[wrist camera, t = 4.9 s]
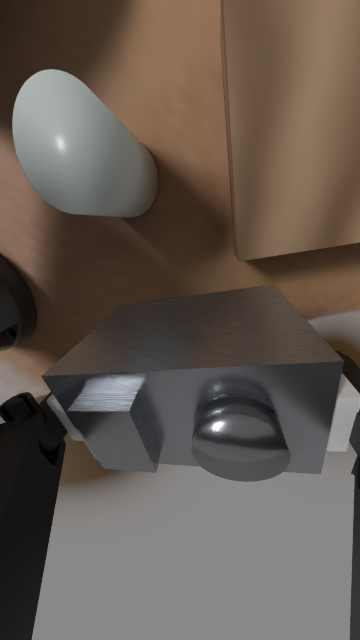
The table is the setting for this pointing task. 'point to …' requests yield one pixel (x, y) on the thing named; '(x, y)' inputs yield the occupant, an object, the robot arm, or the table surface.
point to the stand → (292, 123)
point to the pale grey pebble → (80, 150)
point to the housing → (203, 386)
